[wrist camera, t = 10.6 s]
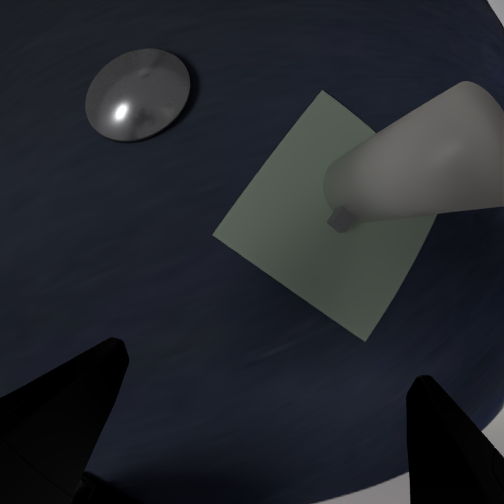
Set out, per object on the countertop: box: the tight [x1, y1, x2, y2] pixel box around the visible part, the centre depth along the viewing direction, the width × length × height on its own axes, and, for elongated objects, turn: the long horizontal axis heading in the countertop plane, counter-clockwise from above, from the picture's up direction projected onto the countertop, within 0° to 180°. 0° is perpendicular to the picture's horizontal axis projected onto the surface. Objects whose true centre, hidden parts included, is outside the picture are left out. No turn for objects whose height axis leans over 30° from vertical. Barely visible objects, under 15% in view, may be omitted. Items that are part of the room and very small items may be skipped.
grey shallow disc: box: [85, 49, 191, 143], centre depth 16 cm, size 7×7×1 cm
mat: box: [213, 90, 437, 341], centre depth 18 cm, size 12×12×1 cm
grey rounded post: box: [323, 81, 504, 233], centre depth 12 cm, size 6×4×11 cm
